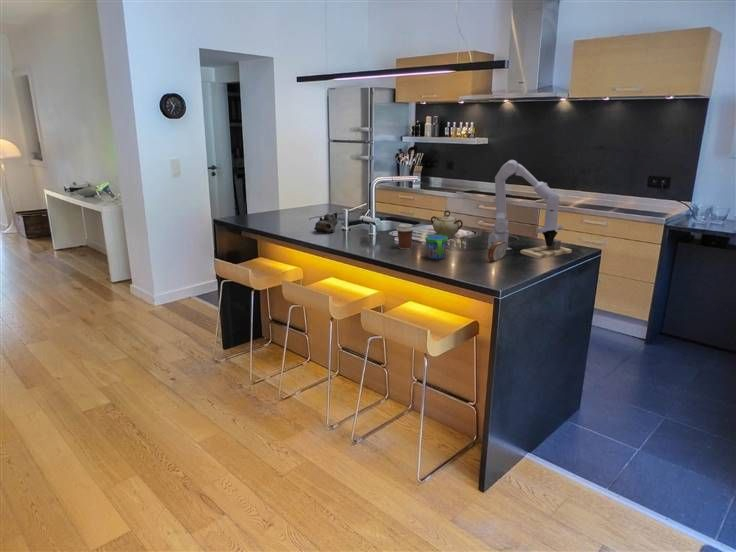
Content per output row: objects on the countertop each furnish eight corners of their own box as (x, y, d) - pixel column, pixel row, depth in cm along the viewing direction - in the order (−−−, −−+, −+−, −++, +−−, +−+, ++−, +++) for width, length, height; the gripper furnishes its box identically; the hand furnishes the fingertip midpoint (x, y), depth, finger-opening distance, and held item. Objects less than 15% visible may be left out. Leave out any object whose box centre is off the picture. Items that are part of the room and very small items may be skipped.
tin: (501, 255, 246) (502, 238, 244) (507, 256, 244) (508, 239, 242) (486, 262, 235) (487, 244, 233) (493, 263, 233) (494, 245, 231)
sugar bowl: (467, 236, 286) (469, 209, 282) (455, 241, 275) (456, 214, 270) (437, 232, 298) (437, 206, 293) (424, 237, 286) (424, 210, 282)
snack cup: (423, 253, 252) (424, 233, 249) (444, 253, 252) (445, 233, 249) (426, 262, 237) (427, 241, 234) (449, 262, 237) (450, 240, 234)
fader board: (538, 258, 240) (538, 255, 239) (520, 253, 250) (520, 249, 249) (571, 252, 249) (571, 249, 249) (552, 247, 259) (553, 244, 259)
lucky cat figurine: (313, 230, 309) (321, 208, 310) (331, 237, 311) (339, 216, 311) (314, 227, 294) (322, 205, 295) (333, 235, 296) (342, 213, 297)
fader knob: (554, 249, 248) (555, 241, 247) (546, 247, 252) (547, 239, 251) (560, 248, 250) (561, 240, 248) (552, 246, 254) (552, 238, 253)
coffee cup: (415, 246, 267) (415, 223, 263) (412, 250, 258) (412, 227, 255) (398, 245, 269) (398, 223, 265) (394, 249, 261) (394, 226, 257)
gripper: (546, 221, 238) (543, 249, 242) (568, 218, 245) (565, 245, 249) (535, 218, 244) (533, 246, 248) (557, 215, 251) (554, 242, 255)
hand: (548, 245), depth 249 cm, fingers closed
